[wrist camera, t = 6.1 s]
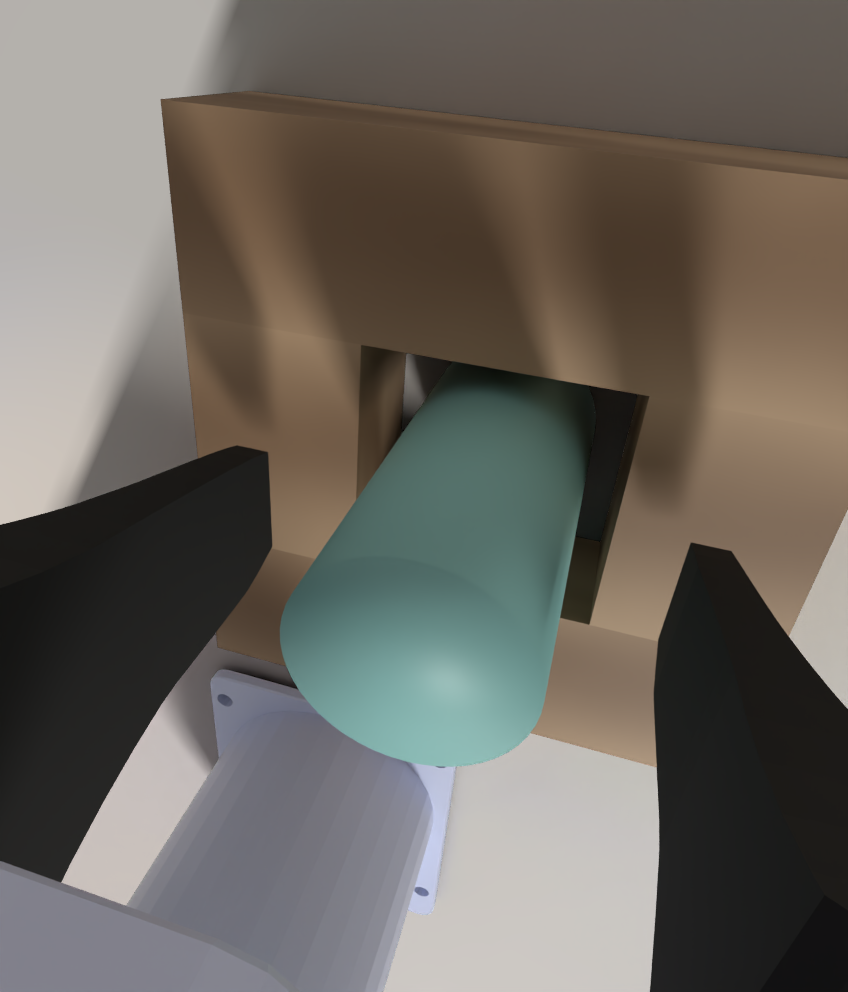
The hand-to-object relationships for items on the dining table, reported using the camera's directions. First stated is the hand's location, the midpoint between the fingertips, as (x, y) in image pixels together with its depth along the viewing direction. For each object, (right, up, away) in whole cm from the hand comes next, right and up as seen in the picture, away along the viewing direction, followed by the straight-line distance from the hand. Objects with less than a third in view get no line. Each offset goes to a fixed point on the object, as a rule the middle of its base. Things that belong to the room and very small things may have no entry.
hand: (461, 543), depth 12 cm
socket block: (+1, +2, +4) cm, 5 cm away
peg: (+1, +3, +4) cm, 5 cm away
